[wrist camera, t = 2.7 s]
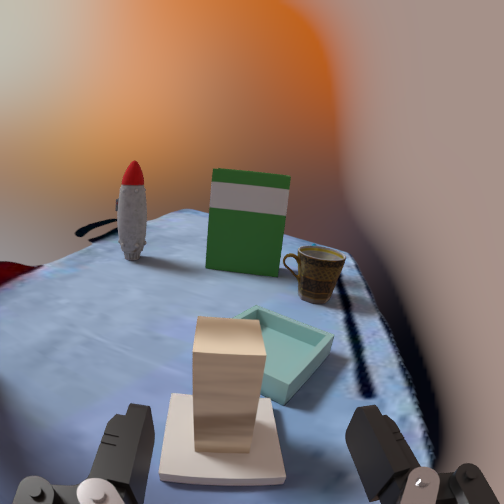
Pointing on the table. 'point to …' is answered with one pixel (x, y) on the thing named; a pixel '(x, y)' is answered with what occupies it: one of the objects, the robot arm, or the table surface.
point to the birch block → (226, 383)
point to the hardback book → (246, 221)
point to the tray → (288, 352)
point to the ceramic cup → (317, 272)
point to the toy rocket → (132, 212)
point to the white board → (220, 464)
